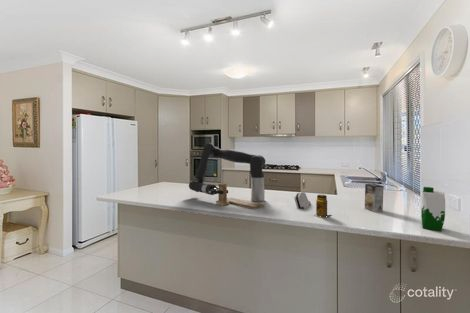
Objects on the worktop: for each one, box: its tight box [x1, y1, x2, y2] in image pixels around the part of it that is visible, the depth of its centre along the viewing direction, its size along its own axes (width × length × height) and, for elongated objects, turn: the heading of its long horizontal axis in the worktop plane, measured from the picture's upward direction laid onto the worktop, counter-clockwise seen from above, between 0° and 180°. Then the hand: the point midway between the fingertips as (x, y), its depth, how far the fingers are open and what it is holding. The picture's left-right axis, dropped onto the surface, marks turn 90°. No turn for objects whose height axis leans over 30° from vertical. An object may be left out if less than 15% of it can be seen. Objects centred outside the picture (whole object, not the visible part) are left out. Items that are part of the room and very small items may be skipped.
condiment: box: [315, 194, 328, 218], centre depth 146 cm, size 7×8×12 cm
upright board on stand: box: [215, 182, 230, 207], centre depth 173 cm, size 6×7×14 cm
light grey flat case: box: [293, 191, 312, 210], centre depth 169 cm, size 17×5×10 cm, turn 150°
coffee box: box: [364, 183, 385, 213], centre depth 157 cm, size 9×6×16 cm
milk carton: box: [421, 186, 446, 233], centre depth 123 cm, size 9×9×20 cm
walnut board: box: [227, 197, 264, 210], centre depth 174 cm, size 10×30×2 cm, turn 46°
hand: (225, 192), depth 171 cm, fingers closed on upright board on stand, 4 cm apart
